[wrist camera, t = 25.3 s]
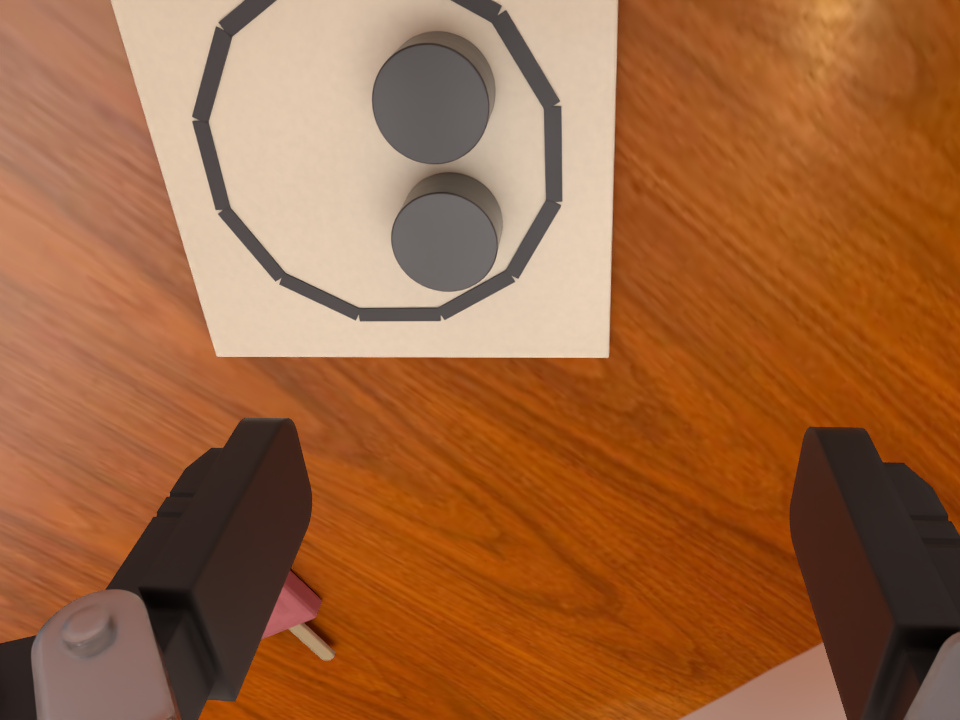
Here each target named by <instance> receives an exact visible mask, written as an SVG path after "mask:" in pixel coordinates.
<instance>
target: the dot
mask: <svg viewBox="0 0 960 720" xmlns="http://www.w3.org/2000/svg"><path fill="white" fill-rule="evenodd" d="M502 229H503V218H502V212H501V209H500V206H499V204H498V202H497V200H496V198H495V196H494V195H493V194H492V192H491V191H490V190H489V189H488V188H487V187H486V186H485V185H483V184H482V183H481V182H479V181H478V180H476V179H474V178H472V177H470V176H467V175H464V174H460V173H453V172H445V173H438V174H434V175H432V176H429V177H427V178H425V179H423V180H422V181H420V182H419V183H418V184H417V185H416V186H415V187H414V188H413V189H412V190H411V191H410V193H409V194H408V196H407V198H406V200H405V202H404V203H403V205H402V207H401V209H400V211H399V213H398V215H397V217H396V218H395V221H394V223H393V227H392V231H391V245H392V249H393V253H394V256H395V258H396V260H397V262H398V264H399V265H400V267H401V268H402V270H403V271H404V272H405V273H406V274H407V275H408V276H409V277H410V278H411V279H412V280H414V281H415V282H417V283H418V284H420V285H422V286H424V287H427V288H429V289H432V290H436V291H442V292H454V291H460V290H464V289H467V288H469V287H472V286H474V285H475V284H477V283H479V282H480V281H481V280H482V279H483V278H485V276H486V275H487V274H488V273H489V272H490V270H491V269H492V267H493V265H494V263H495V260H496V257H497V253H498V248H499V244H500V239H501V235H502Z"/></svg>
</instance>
